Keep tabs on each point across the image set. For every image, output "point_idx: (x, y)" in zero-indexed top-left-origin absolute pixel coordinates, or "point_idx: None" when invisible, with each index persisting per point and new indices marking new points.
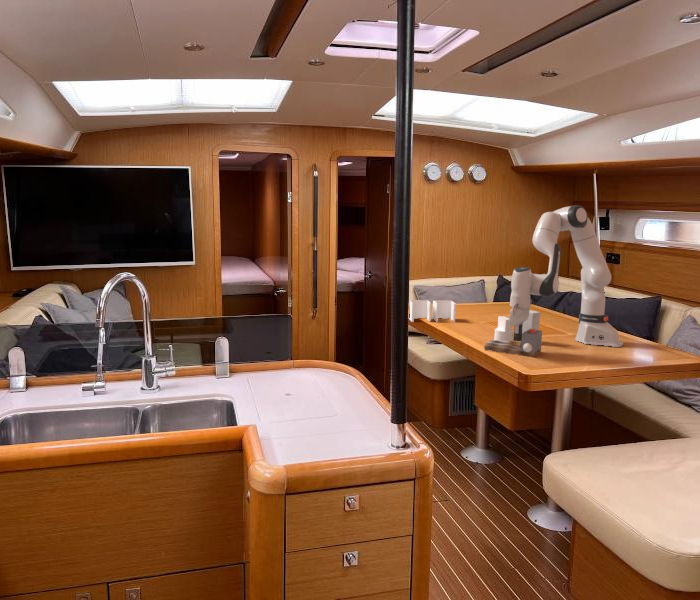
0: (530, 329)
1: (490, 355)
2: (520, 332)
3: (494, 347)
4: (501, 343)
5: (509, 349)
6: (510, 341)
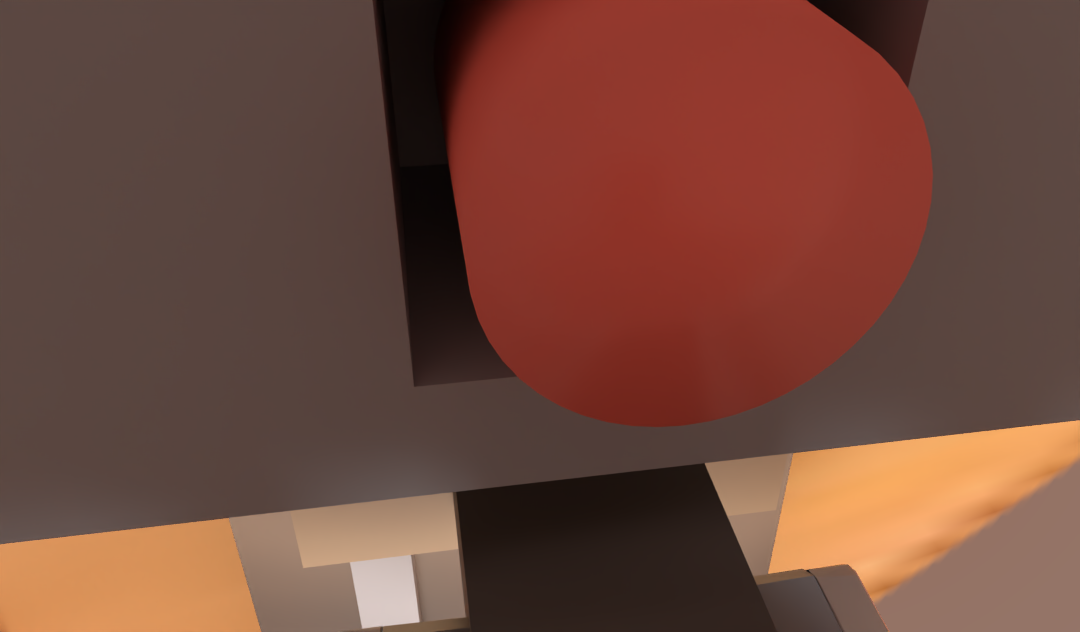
0: (736, 351)
1: (1047, 449)
2: (719, 555)
3: (763, 570)
4: (421, 611)
5: None
6: (775, 484)
